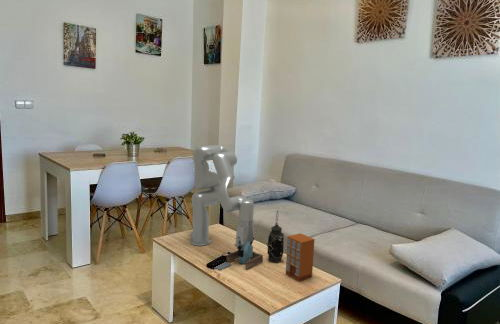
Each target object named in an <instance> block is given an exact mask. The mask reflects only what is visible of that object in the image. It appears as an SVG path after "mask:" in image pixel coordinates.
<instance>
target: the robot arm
mask: <svg viewBox="0 0 500 324" xmlns="http://www.w3.org/2000/svg"><path fill="white" fill-rule="evenodd" d="M192 159H193V164H194V173H193V174H194V175H193V176H194V180H193V181H194V187H195V188H196V189H197V190H200V191H195V192H194V193H193V194H192V196H191V198H190V199H191V205H192V231H191V232H190V233H189V234H188V236H189V237H191V238H190V240H189V243H190V244H191V245H192V246H196V247H198V246H199V247H202V246H204V247H205V246H208V245H210V244H211V243H212V240H211V239H210V238H209V225H210V213H209V211H208V209H207V207H210V206H214V205H217V204H218V203H219V202H220V205H221V208H222V210H223V211H225V213H231V212H236V211H239V212H238V225H237V228H236V233H235V243H234V246H235V247H236V249H237V250H238V256H239V257H243V247H244V245H245V244H246V242H248V241H250V246H253V243H254V240H255V238H256V237H255V236H254V235H255V234H254V205H255V203H254V200H253V199H250V198H247V197H245V196H244V195H237V196H236V195H235V196H232V197H230V196H229V194H228V193H229V192H228V186H229V184H230V183H231V182H233V181H234V180H235V178H236V177H235V173H234V171H233V168H232V167H234V166H235V165H236V164H237V161H238V158H237V155H236V154H235V153H234V151H232V150H230V149H228V148H227V147H225V146H223V145H222V144H214V145H213V144H212V145H211V144H210V145H201V146H198V147H196V148H195V149H194V151H193V157H192ZM208 161H212V163H213V166H214V168H215V169H214V170H215V171H216V172H214V171H210V165H209V162H208ZM240 242H241V244H240ZM240 245H242V246H241V247H240Z"/></svg>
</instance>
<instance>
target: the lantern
mask: <svg viewBox="0 0 500 324" xmlns="http://www.w3.org/2000/svg"><path fill="white" fill-rule="evenodd" d="M276 212H279V210H277V211H276ZM275 219H276V222H275V223H274V226H271V227H270V229H271V231H270V232H269V233H268V234H269V235H268V239H267V245H266V247H267V253H266V254H267V255H268V258H267V261H269V262H270V263H281V262H282V258H283V256H284V245H285V243H284V241H285V239H284V238H285V237H284V236H285V234H284V233H283V232H282V230H283V228H282V227H281V226H279V224H278V220H279V217H278V213H276V214H275Z"/></svg>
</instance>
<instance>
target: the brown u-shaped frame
mask: <svg viewBox="0 0 500 324" xmlns="http://www.w3.org/2000/svg"><path fill="white" fill-rule="evenodd" d="M237 259H238V260H239V256H238V249H237V250H236V251H233V252H230V253H228V254H226V260H225V262H226V261H227V262H229V263H231V262H233V261H235V260H237ZM263 260H264V255H263V254H262V253H258V252H256V251H253V256H252V258H251V257H249V261H247V262H246V264H245V266H244V267H245V270H246V271H249V270H250V269H252V268H254V267H257V266H259V265H260V264H262V263H263Z"/></svg>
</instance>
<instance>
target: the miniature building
mask: <svg viewBox="0 0 500 324" xmlns="http://www.w3.org/2000/svg"><path fill="white" fill-rule="evenodd" d="M315 240H316V239H315V238H313V237H310V236H308V235H305V234H302V233H301V232H299V233H296V234H292V235H288V236H287V240H286V241H287V243H286V260H285V262H286V263H285V275H287V276H288V277H290V278H291V279H292V280H293V279H294V280H296V281H297V282H303V281H306V280H308V279H312V278H313V271H314V270H313V268H314V267H313V266H314V252H315V251H314V250H315Z"/></svg>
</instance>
